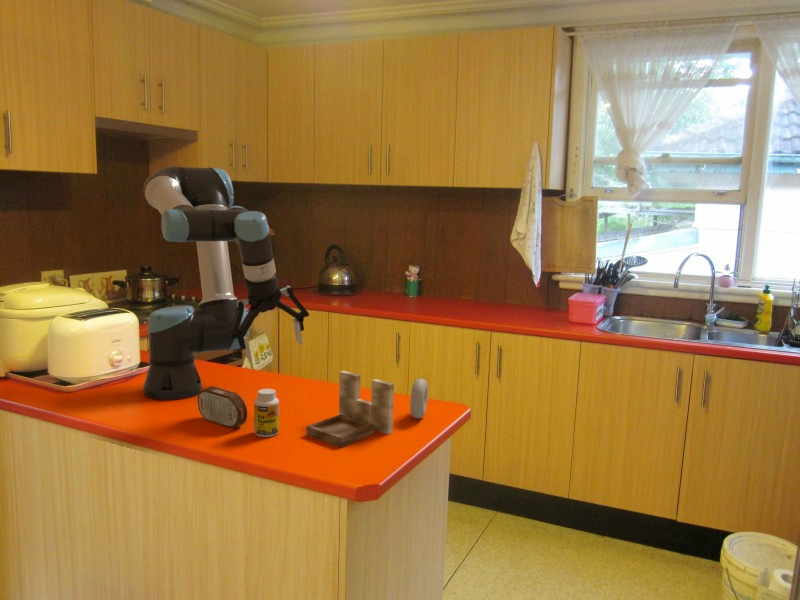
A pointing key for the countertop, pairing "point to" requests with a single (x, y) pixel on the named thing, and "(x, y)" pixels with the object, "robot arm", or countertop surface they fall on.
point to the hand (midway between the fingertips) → (274, 350)
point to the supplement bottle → (266, 413)
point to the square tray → (340, 430)
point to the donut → (419, 398)
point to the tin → (222, 407)
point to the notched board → (367, 402)
